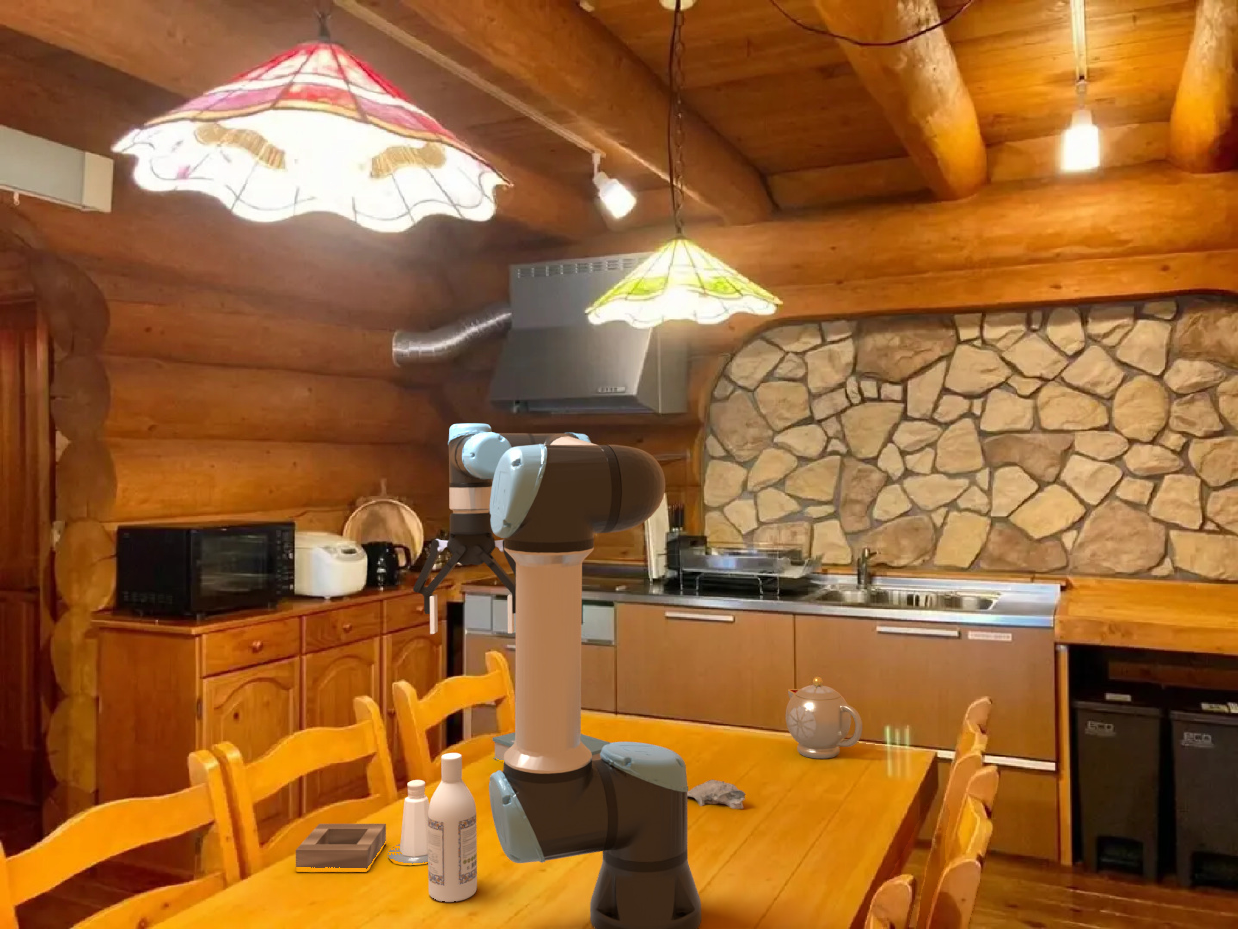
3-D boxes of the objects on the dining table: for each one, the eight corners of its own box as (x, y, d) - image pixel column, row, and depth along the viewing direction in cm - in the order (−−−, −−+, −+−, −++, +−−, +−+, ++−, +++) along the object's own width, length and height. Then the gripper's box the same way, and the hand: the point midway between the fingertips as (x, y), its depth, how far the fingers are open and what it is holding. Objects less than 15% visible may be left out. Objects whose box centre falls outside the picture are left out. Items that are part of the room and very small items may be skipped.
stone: (719, 819, 174) (719, 795, 174) (678, 797, 184) (679, 775, 184) (748, 812, 177) (748, 789, 177) (706, 791, 187) (707, 770, 187)
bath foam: (478, 881, 147) (476, 747, 147) (475, 902, 141) (474, 761, 141) (430, 884, 147) (429, 749, 147) (426, 905, 140) (425, 763, 140)
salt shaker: (436, 844, 161) (435, 776, 161) (431, 857, 155) (430, 787, 155) (403, 845, 160) (402, 777, 160) (396, 858, 155) (395, 788, 155)
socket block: (367, 873, 151) (367, 850, 151) (295, 873, 151) (295, 850, 151) (386, 845, 162) (385, 823, 162) (319, 845, 162) (319, 823, 162)
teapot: (770, 753, 210) (769, 676, 210) (806, 740, 220) (806, 667, 220) (844, 771, 198) (843, 689, 198) (879, 756, 208) (878, 678, 208)
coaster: (439, 866, 153) (439, 862, 153) (381, 866, 153) (381, 862, 153) (450, 844, 162) (450, 840, 162) (395, 844, 162) (395, 840, 162)
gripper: (544, 509, 177) (545, 628, 177) (405, 511, 178) (407, 629, 178) (539, 511, 170) (541, 635, 170) (395, 513, 170) (396, 636, 170)
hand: (472, 632), depth 174 cm, fingers open, 13 cm apart
